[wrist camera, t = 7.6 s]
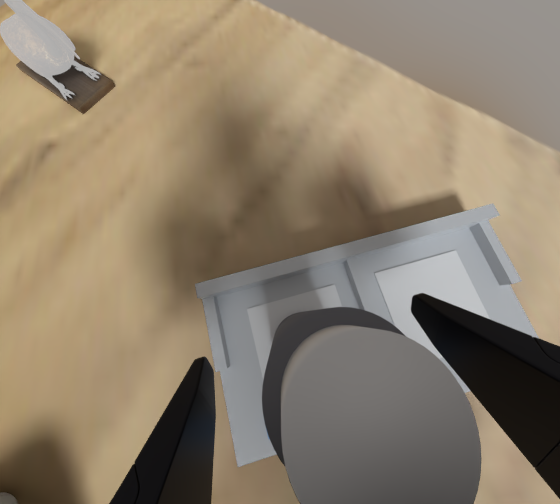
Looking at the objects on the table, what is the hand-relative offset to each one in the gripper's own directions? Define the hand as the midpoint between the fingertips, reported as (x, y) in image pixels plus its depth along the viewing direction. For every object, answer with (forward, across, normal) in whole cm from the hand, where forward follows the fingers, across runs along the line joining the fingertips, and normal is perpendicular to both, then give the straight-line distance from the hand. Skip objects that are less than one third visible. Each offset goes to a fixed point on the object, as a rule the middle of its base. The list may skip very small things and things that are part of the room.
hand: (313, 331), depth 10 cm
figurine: (+26, +15, -14) cm, 33 cm away
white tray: (+5, -5, +7) cm, 10 cm away
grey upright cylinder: (+4, 0, +6) cm, 8 cm away
